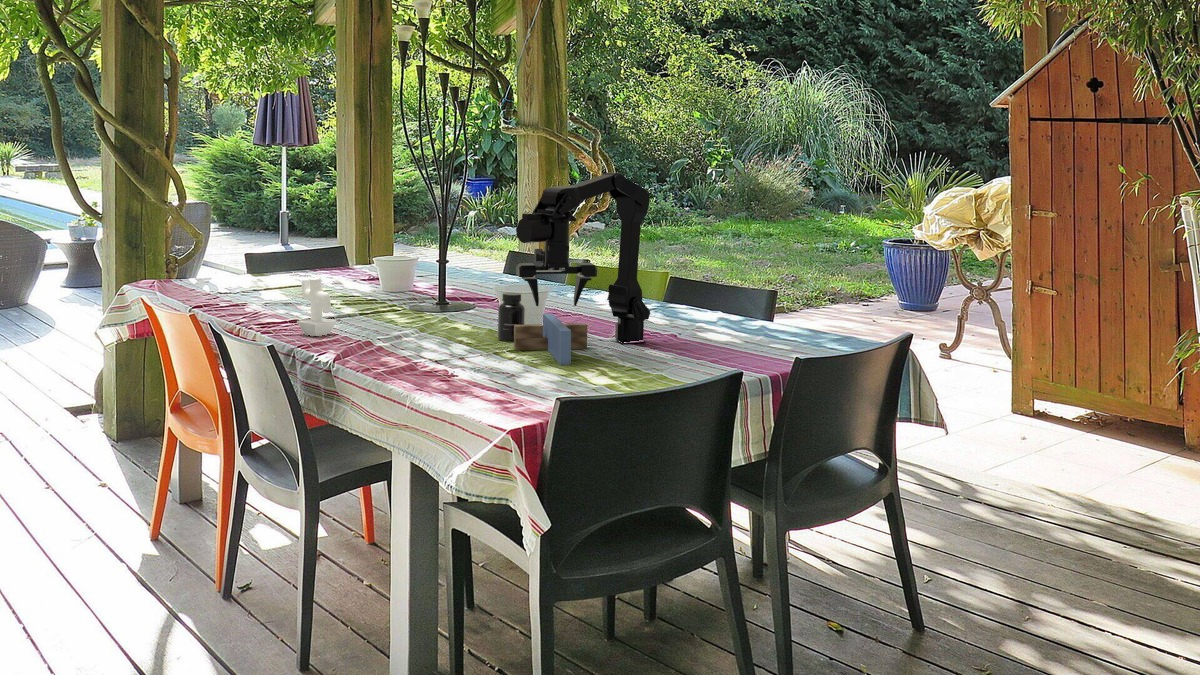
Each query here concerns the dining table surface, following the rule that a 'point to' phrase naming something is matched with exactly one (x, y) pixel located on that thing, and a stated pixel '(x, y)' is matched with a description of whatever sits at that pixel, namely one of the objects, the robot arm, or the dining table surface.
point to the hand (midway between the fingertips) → (556, 305)
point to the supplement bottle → (510, 316)
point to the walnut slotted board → (534, 339)
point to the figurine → (316, 308)
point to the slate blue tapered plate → (557, 339)
